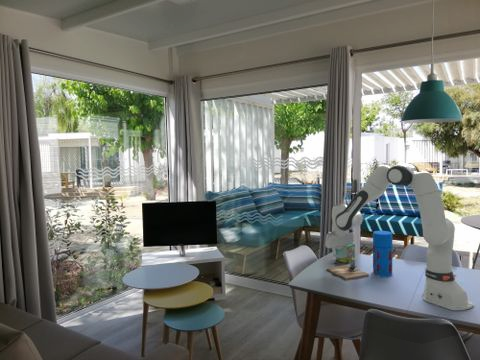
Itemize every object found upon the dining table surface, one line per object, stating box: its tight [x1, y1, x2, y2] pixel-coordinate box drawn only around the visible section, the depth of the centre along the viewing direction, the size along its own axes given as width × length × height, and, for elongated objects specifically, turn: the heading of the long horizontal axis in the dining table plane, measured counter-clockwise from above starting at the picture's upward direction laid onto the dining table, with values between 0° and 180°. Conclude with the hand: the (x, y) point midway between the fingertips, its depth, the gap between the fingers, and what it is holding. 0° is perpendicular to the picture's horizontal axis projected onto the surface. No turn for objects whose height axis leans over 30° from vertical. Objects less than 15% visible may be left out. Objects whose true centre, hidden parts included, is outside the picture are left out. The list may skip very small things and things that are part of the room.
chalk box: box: [335, 243, 356, 264], centre depth 251 cm, size 9×9×15 cm
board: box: [326, 264, 370, 281], centre depth 227 cm, size 20×17×2 cm
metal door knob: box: [348, 258, 358, 271], centre depth 228 cm, size 5×5×7 cm
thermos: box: [372, 230, 393, 278], centre depth 223 cm, size 11×11×25 cm
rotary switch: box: [332, 246, 347, 258], centre depth 224 cm, size 6×6×6 cm
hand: (339, 253), depth 224 cm, fingers closed on rotary switch, 6 cm apart
